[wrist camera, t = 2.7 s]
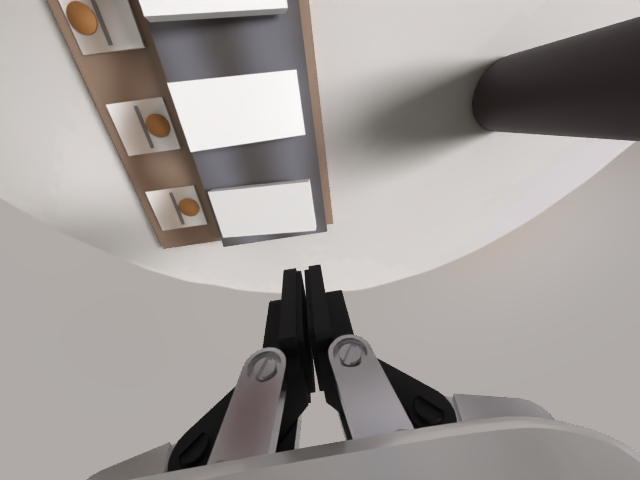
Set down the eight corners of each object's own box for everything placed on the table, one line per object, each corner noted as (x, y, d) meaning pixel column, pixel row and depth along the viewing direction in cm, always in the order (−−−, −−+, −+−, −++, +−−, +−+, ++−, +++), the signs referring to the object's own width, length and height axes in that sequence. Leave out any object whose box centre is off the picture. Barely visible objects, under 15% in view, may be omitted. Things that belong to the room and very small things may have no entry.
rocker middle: (294, 71, 19) (296, 69, 18) (303, 134, 21) (305, 134, 20) (171, 85, 18) (166, 82, 17) (193, 151, 20) (190, 152, 19)
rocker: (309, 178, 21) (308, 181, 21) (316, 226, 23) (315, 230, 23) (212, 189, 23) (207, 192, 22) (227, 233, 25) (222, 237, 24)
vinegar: (530, 122, 27) (984, 132, 9) (468, 137, 27) (799, 175, 9) (541, 47, 24) (1254, -159, 6) (472, 64, 24) (971, -88, 6)
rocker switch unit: (298, -81, 19) (299, -128, 15) (332, 220, 30) (336, 234, 27) (33, -49, 19) (-30, -89, 15) (167, 244, 30) (149, 262, 26)
